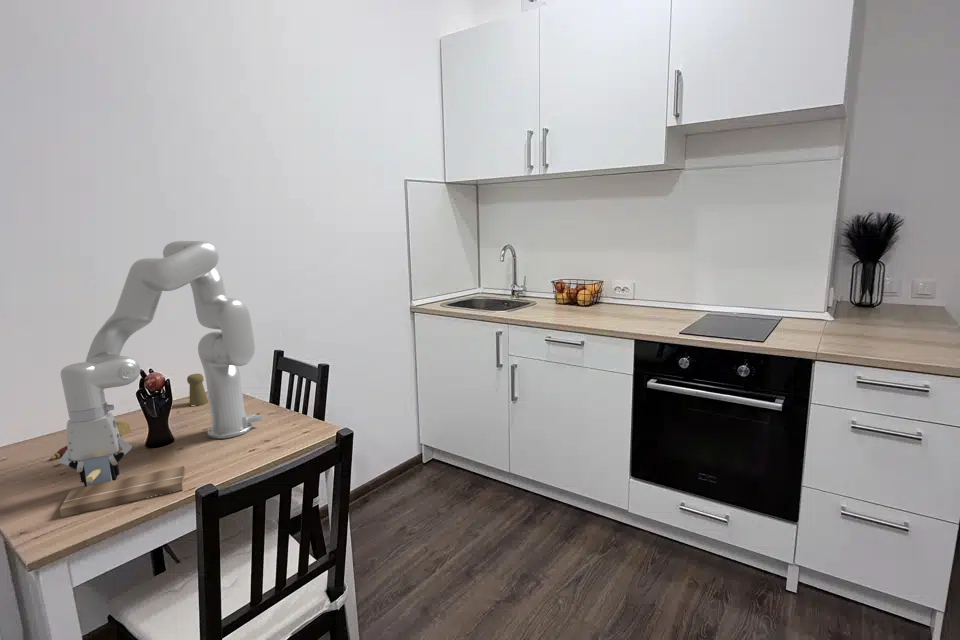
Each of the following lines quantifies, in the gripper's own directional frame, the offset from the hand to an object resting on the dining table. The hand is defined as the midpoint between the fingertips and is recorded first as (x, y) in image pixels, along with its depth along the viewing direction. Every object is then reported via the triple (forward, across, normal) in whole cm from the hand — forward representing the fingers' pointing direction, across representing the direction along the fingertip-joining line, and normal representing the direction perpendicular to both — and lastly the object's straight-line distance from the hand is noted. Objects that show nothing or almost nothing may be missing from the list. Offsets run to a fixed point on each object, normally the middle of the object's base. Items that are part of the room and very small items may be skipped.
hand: (101, 480), depth 131 cm
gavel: (+2, +9, -33) cm, 34 cm away
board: (+1, -6, +8) cm, 10 cm away
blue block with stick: (-1, 0, +4) cm, 4 cm away
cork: (+2, -20, -56) cm, 59 cm away
